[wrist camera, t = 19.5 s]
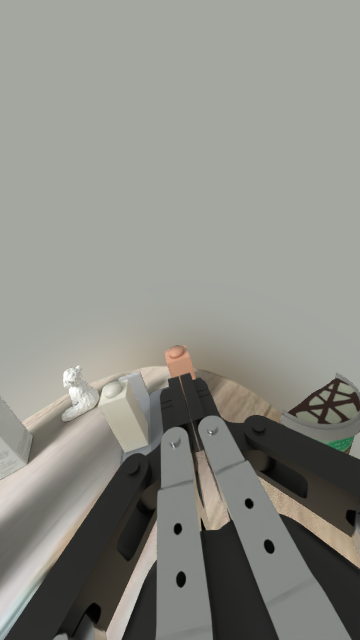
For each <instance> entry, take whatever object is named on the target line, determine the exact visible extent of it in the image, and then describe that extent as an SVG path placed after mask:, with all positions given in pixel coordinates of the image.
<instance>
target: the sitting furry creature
mask: <svg viewBox="0 0 360 640" xmlns="http://www.w3.org/2000/svg"><path fill="white" fill-rule="evenodd" d="M81 370H82V368H81V366H80V365H79V366H77V367H76V368H69V369H67V370H66V371H65V372H64V374H63V376H64V380H63V382H64V387H65V388H69V394H70V397H71V401H73V402H72V404H73V407H70V408H68V409H67V410H66V411H65V412H64V413H63V414H62V419H63V421H64V422H65V421H70V420H72V419H74V418H76V417H78V416H80V415H82V414H83V413H85V412H87V411H89V410H91V409H92V408H94V407H95V406H96V404H97V403H98V401H99V397H100V396H99V393H98V391H97V390H96V389H93V387H91V386H89V384H88V383H86V382H85V381H81V378H82V375H81V372H80V371H81Z"/></svg>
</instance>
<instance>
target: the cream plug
mask: <svg viewBox="0 0 360 640" xmlns="http://www.w3.org/2000/svg"><path fill="white" fill-rule="evenodd" d="M98 407H99V408H100V410H101V412H102V414H103V415H104V417H105V419H106V421H107V423H108V424H109V426H110V428H111V430H112V431H113V433H114V435H115V437H116V438H117V440H118V442H119V444H120V445H121V447H122V449H123V451H124V452H125V453H126V452H129V451H132V450H135V449H138V448H141V447H144V446H147V445H149V443H148V423H147V421H146V419H145V416H144V414H143V412H142V410H141V408H140V405H139V403H138V401H137V399H136V397H135V394H134V392H133V390H132V388H131V386H130V383H129V381H128V379H127V380H124V381H121V382H119V381H113V382H110V383H109V384H107V385H106V386H105V387H103V390H102V393H101V397H100V401H99V404H98Z"/></svg>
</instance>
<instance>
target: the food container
mask: <svg viewBox="0 0 360 640" xmlns="http://www.w3.org/2000/svg"><path fill="white" fill-rule="evenodd" d="M281 423H282V424H284V425H285V426H286V427H288V428H290V429H293V430H295V431H297V432H299V433H302V434H304V435H306V436H308V437H310V438H313V439H315V440H317V441H319V442H322V443H324V444H326V445H328V446H331V447H333V448H335V449H337V450H339V451H342V452H344V453H346V454H348V455H349V452H350V449H351V445H352V442H353V439H354V436H355V435H356V434H357V433H359V432H360V392H359V391H358V389H357V388H356V387H355V386H354V385H353V383H351V382H350V381H349V380H348V379H346V378H345V377H343V376H342V375H340V374H338V373H336V376H335V379H334V380H332V381H331V382H330V383H329V384H327V385H326V386H324V387H323V388H321V389H319V390H317V391H315V392H314V393H312V394H311V395H310V396H308V397H307V398H306V399H305V400H304V401H303V402H301V403H300V404H299V405H297V406H296V407H295V408H293V409H292V410H290V411H289V412H288V413H287V412H286V411H284V410H283V414H281Z"/></svg>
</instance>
